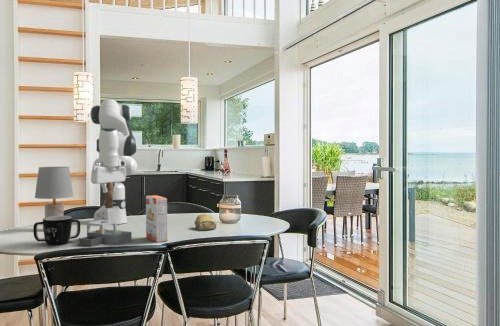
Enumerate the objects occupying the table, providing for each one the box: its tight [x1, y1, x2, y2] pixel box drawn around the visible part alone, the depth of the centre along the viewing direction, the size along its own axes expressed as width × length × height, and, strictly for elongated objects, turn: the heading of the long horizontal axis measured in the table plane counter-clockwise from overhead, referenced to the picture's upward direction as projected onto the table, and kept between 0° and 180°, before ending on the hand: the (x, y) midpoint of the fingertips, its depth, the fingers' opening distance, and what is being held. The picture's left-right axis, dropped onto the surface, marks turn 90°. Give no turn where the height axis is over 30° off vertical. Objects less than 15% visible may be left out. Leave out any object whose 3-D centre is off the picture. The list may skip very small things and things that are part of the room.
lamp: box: [34, 166, 74, 218], centre depth 230 cm, size 19×19×34 cm
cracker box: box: [145, 195, 168, 244], centre depth 206 cm, size 14×6×21 cm, turn 33°
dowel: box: [104, 173, 113, 208], centre depth 199 cm, size 3×3×16 cm
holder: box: [78, 236, 103, 247], centre depth 195 cm, size 7×7×3 cm
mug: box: [33, 215, 81, 246], centre depth 196 cm, size 16×16×12 cm
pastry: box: [194, 213, 217, 232], centre depth 237 cm, size 14×12×8 cm
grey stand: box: [86, 220, 133, 245], centre depth 204 cm, size 18×10×8 cm, turn 67°
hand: (108, 192), depth 199 cm, fingers closed on dowel, 3 cm apart
